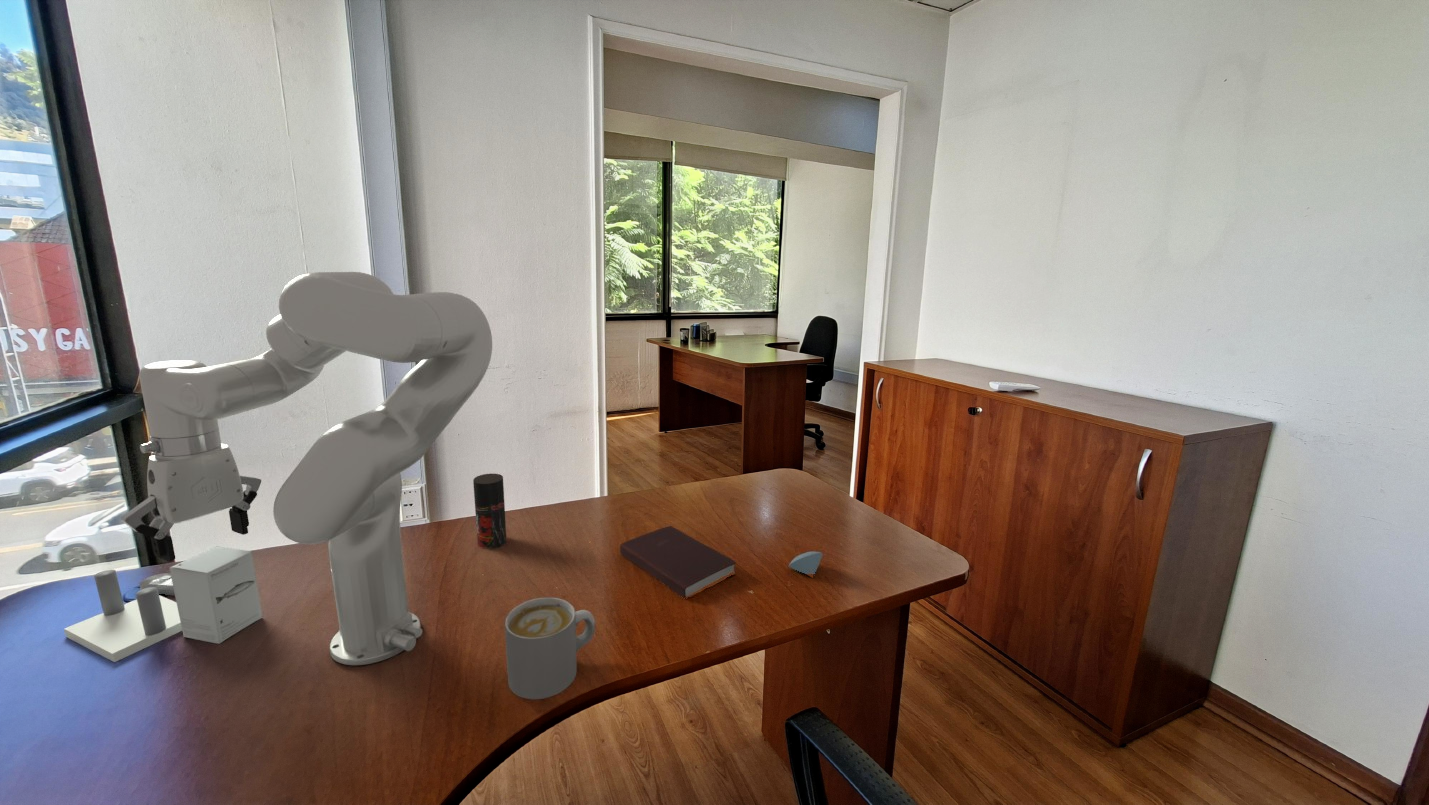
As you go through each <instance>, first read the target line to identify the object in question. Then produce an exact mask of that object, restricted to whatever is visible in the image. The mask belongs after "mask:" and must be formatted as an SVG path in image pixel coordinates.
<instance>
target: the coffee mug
mask: <svg viewBox="0 0 1429 805" xmlns="http://www.w3.org/2000/svg"><path fill="white" fill-rule="evenodd" d="M581 621H584V624H585V627H584V631H583V632H582V633H581V634H579V635H577V626H578V624H579V623H580V622H581ZM595 629H596V620H595V617H594V616H593V613H592V612H590V611H589V610H587V609H580V610H577V611H576V609H575V607H574V606H573V605H572V604H571V603H570V602H569V601H567V600H564V599H563V598H562V599H561V598H559V597H550V596H549V597H538V598H533V599H530V600H527V601H524V602H522V603H520V604H519V605H516V606H515V607H514V608H513V609H512V610H511V611H509V612H508V614H507V616H506V617H505V621H504V635H505V651H506V652H505V653H506V667H507V668H506V669H507V681H508V682H507V683H508V687H509V689H510V691H511V692H512V693H513V694H514V695H516V696H517V697H519V698H522V699H525V700H526V699H527V700H541V699H542V700H543V699H547V698H551V697H553V696H556V695H558V694H560V693H562V692H564V690H566V689H567V688H569V686H570V685H572V683H573V682H574V681H575V678H576V677H577V673H578V670H577V669H578V666H577V664H578V663H577V662H578V661H577V653H578V651H579V650H580V649H582V648H583V647H585V645H587V644H588V643H589V642H590V641H591V640H592V639H593V637H594V635H595V631H596V630H595Z"/></svg>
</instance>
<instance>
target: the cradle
mask: <svg viewBox="0 0 1429 805" xmlns="http://www.w3.org/2000/svg"><path fill="white" fill-rule="evenodd" d="M93 578H94V580H95V581H94V582H95V585H96V589H97V593H98V598H99V602H100V605H101V609H102V613H99V614H97V615H94V616H92V617H89V618H87V619H85V620H82V621H79V622H77V623H74V624H72V625H70V626H67V627H65V628H63V631H64V633H65V636H66V638H67V639H69V640H71V641H73V642H75V643H77V644H79V645H81V646H82V647H84V648H87V649H88V650H90V651H92V652H94V653H96V654H98V655H99V656H102V657H103V658H105V659H107V660H109V661H111V662H113V663H116V662H118V661H120V660H123V659H125V658H127V657H130V656H131V655H133V654H135V653H138V652H139V651H141V650H143V649H146V648H148V647H150V646H153V645H155V644H157V643H159V642H161V641H163V640H166V639H167V638H169V637H172V636H174V635H176V634H178V633H180V632H183V631H182V627H181V622H180V617H179V612H178V607H177V602H176V601H175V600H172V599H169V598H167V597H165V596H163V595H159V593H158V589H157V587H149V588H145V589H142V590H141V589H139V590H138V591H137V592H136V593H135V597H136V599H134V600H132V601H129V602H126V603H125V602H124V600H123V596H122V591H121V587H120V584H119V579H118V575H117V571H116V569H107V570H103V571H99V572H97V573H96V574H94V575H93ZM124 603H125V604H124Z"/></svg>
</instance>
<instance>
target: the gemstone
mask: <svg viewBox="0 0 1429 805" xmlns="http://www.w3.org/2000/svg"><path fill="white" fill-rule="evenodd" d="M823 554H824V553H822V552H821V551H814V550H813V551H807V552H805V553H804V552H803V553H802V554H799V555H797V556H795V557H794V558H793V559H792V560H791V561H790V563H789V564H788V567H789V568H790V569H792V570H794V571H796V570H797V571H796V572H798V571H799V572H798V573H800V572H802V573H805V574H815V575H816V573H815V572H817V569H818V568H819V565H820V562H821V560H822V557H823ZM802 573H801V574H802Z"/></svg>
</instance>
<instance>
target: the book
mask: <svg viewBox="0 0 1429 805" xmlns="http://www.w3.org/2000/svg"><path fill="white" fill-rule="evenodd" d="M619 551H620V555H621V556H623V557H624V558H625V559H627V560H628V561H630V563H633V564H634V565H636V566H637V567H638V568H640V569H641V570H642V571H644V572H645V571H646V573H647V572H648V573H649V574H648V573H647V574H648V575H649V576H651V575H652V576H653V577H652V576H651V577H652V578H654V577H655V578H656V579H655V578H654V579H655V580H657V579H658V580H659V581H661V582H662V583H664V584H665V585H666V586H668V587H669V588H670V589H672V590H673V591H674V592H673V591H672V590H671V591H672V592H673V593H675V592H676V593H677V594H679V595H680V596H682V597H683V598H685V599H686V596H689V595H691V594H693V593H694V592H696V591H698V590H700V589H702V588H703V587H705V586H707V585H709V584H711V583H713V582H714V581H717V580H719V579H720V578H722V577H724V576H726V575H729V574H730V573H732V572H735V565H736V564H737V562H736V561H735V560H734V559H732V558H730V557H729V556H726V555H725V554H723V553H721V552H720V551H718V550H716V549H713V548H711V547H710V546H708V545H706V544H705V543H702V542H701V541H699V540H697V539H695V538H693V537H692V536H690V535H688V534H686V533H685V532H683V531H681V530H679V529H677V528H675V527H673V526H672V525H670V526H665V527H662V528H659V529H656V530H653V531H651V532H648V533H645V534H641V535H640V536H636V537H634V538H632V539H629V540H626V541H625V542H622V543H621V544H620V546H619ZM658 580H657V581H658ZM659 581H658V582H659ZM661 582H660V583H661ZM662 583H661V584H662ZM665 585H664V586H665ZM666 586H665V587H666ZM668 587H667V588H668ZM669 588H668V589H669ZM670 589H669V590H670ZM676 593H675V594H676ZM677 594H676V595H677ZM679 595H678V596H679ZM680 596H679V597H680ZM683 598H682V599H683ZM685 599H684V600H685ZM686 600H687V599H686Z"/></svg>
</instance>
